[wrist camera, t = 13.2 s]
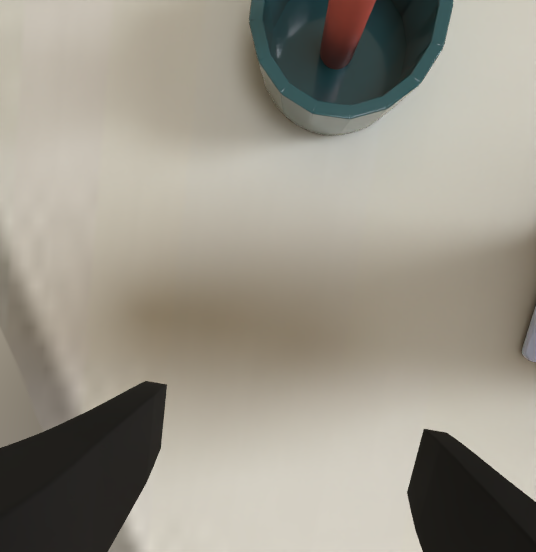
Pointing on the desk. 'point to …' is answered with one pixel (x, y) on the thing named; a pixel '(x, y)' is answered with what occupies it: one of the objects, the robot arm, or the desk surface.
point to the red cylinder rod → (343, 30)
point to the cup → (358, 72)
